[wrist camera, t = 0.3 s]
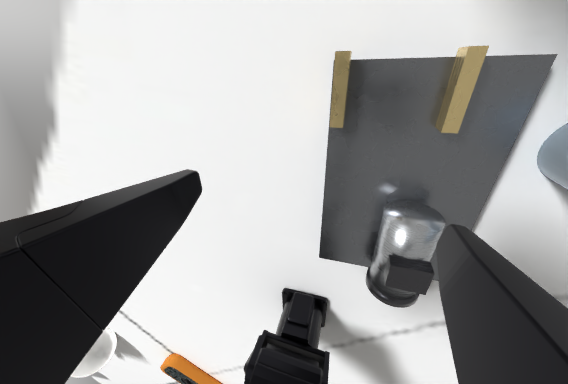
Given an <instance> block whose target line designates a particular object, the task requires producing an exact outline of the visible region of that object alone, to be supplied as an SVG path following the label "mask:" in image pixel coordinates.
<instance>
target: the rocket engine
mask: <svg viewBox="0 0 568 384" xmlns="http://www.w3.org/2000/svg"><path fill="white" fill-rule="evenodd" d="M108 329H110V328H108V327H106V328H105V330H103V333H102V334H101V335H100V337H99V338H98V339H97V341H96V342H95V343H94V345H93V346H92V348H91V349H90V350H89V352H88V353H87V354H86V356H85V357H84V358H83V360H82V361H81V362H80V364H79V365H78V366H77V368H76V369H75V370H74V372H73V373H72V374H71V377H75V378H81V377H86V376H89V375H92V374H94V373H96V372H97V371H99V370H100V369H102V368H103V367H104V366H105V365H106V364H107V363H108V362H109V360H110V359H111V357H112V356H113V354H114V352H115V349H116V345H117V338H116V335H115V332H114V331H113V330H111V329H110V330H111V332H109V331H108Z"/></svg>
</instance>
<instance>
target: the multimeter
mask: <svg viewBox="0 0 568 384" xmlns="http://www.w3.org/2000/svg"><path fill="white" fill-rule="evenodd" d="M160 368H161V370H162V371H163V372H164V373H165V374H167V375H168V376H170V377H172V378H173V379H175V380H176V381H178V382H179V383H181V384H222V383H221V382H219V381H217V380H216V379H214V378H213V377H211V376H210V375H208V374H207V373H205V372H204V371H202V370H201V369H199V368H198V367H196V366H195V365H194V364H192V363H191V362H189V361H188V360H186V359H185V358H183V357H182V356H180V355H178V354H176V353H173V354H171V355H170V356H169V357H167V358H166V359H165V361H164V362H163V364H162V365H161V367H160Z"/></svg>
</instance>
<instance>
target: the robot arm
mask: <svg viewBox="0 0 568 384" xmlns="http://www.w3.org/2000/svg"><path fill="white" fill-rule="evenodd" d="M201 192H202V186H201V181H200V177H199V173H198V172H197V171H194V170H183V171H180V172H177V173H173V174H170V175H166V176H163V177H160V178H156V179H153V180H149V181H146V182H143V183H139V184H136V185H132V186H129V187H126V188H122V189H119V190H116V191H112V192H109V193H105V194H102V195H99V196H95V197H92V198H88V199H85V200H84V201H83V200H81V201H78V202H75V203H71V204H68V205H64V206H61V207H57V208H54V209H50V210H46V211H43V212H39V213H35V214H31V215H27V216H23V217H20V218H16V219H12V220H8V221H4V222H0V384H65V383H66V381H67V380H68V378H69V377H70V376H71V374H72V373H73V372H74V370H75V369H76V368H77V366H78V365H79V364H80V362H81V361H82V360H83V358H84V357H85V356H86V354H87V353H88V352H89V350H90V349H91V348H92V346H93V345H94V343H95V342H96V341H97V339H98V338H99V337H100V335H101V334H102V333H103V330H105V328H106V327H107V326H108V324H109V323H110V322H111V320H112V319H113V318H114V316H115V315H116V314H117V312H118V311H119V310H120V308H121V307H122V306H123V304H124V303H125V302H126V300H127V299H128V297H129V296H130V295H131V293H132V292H133V291H134V289H135V288H136V287H137V285H138V284H139V283H140V281H141V280H142V279H143V277H144V276H145V275H146V273H147V272H148V271H149V269H150V268H151V267H152V265H153V264H154V263H155V261H156V260H157V258H158V257H159V256H160V254H161V253H162V252H163V250H164V249H165V248H166V246H167V245H168V244H169V242H170V241H171V240H172V238H173V237H174V236H175V234H176V233H177V232H178V230H179V229H180V228H181V226H182V225H183V223H184V222H185V220H186V218H187V217H188V215H189V213H190V212H191V210H192V208H193V207H194V205H195V203H196V202H197V200H198V198H199V197H200V195H201ZM436 251H437V265H438V278H439V289H440V295H441V301H442V306H443V310H444V315H445V320H446V325H447V330H448V335H449V340H450V344H451V349H452V354H453V359H454V364H455V369H456V374H457V378H458V383H459V384H568V308H566V307H565V306H564V305H563V304H561V303H560V302H559V301H558V300H556V299H555V298H554V297H553V296H551V295H550V294H549V293H548V292H546V291H545V290H544V289H543V288H541V287H540V286H539V285H538V284H536V283H535V282H534V281H533V280H532V279H530V278H529V277H528V276H527V275H525V274H524V273H523V272H522V271H520V270H519V269H518V268H517V267H515V266H514V265H513V264H512V263H510V262H509V261H508V260H507V259H505V258H504V257H503V256H502V255H500V254H499V253H498V252H497V251H496V250H494V249H493V248H492V247H491V246H489V245H488V244H487V243H486V242H484V241H483V240H482V239H481V238H479V237H478V236H477V235H476V234H474V233H473V232H472V231H471V230H469V229H468V228H467V227H465V226H460V225H456V224H450V225H448V226H447V228H446V229H445V231H444V232H443V234H442V235H441V237H440V238H439V240H438V242H437V245H436ZM282 299H283V312H282V315H281V318H280V322H279V325H278V328H277V331H276V334H273V333H270V332H268V331H267V330H264V331H263V334H262V335H260V336H259V337H258V340H257V343H256V345H255V348H254V350H253V352H252V353H251V355H250V357H249V358H248V360H247V362H246V364H245V366H244V372H245V382H244V384H328V370H329V354H330V352H327V351H325V352H324V351H322V350H319V349H318V343H319V337H320V330H321V327H324V325H325V316H326V308H327V299H326V298H324V297H320V296H315V295H311V294H307V293H303V292H299V291H294V290H290V289H286V288H285V289H283V291H282Z"/></svg>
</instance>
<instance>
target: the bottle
mask: <svg viewBox="0 0 568 384" xmlns="http://www.w3.org/2000/svg"><path fill="white" fill-rule="evenodd" d="M537 164H538V168H539V169H540V171H541V172H542V173H543V174H544V175H545V176H546V177H548V178H550V179H551V180H553V181H554V182H556V183H558V184H559V185H561V186H562V187H564V188H566V189H567V190H568V123H567V124H565V125H564V126H562V127H561V128H559V129H558V130H556V131H555V132H554V133H553V134H551V135H550V136H549V137H548V138H547V140H546V141H545V142H544V143H543V145H542V146H541V148H540V150H539V153H538V156H537Z"/></svg>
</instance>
